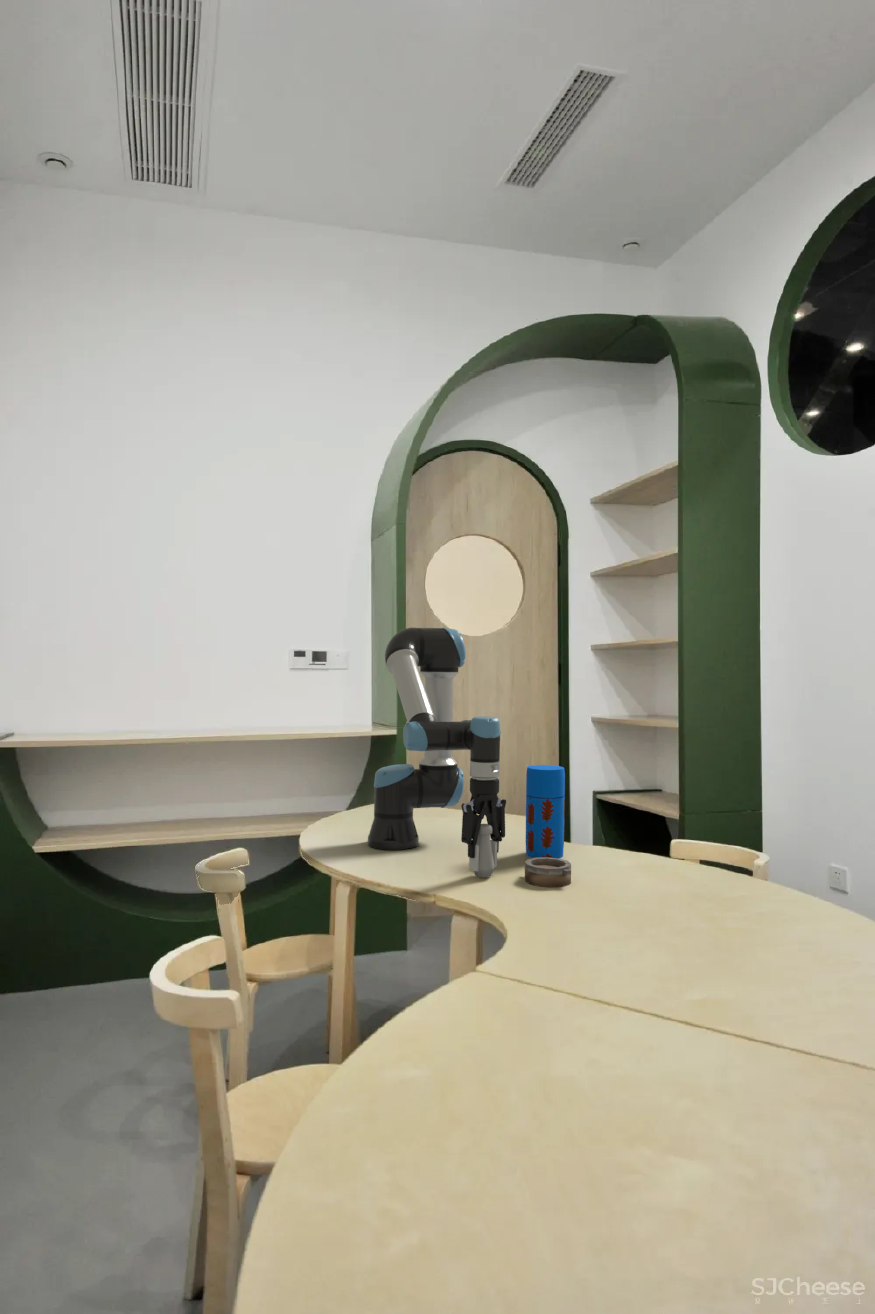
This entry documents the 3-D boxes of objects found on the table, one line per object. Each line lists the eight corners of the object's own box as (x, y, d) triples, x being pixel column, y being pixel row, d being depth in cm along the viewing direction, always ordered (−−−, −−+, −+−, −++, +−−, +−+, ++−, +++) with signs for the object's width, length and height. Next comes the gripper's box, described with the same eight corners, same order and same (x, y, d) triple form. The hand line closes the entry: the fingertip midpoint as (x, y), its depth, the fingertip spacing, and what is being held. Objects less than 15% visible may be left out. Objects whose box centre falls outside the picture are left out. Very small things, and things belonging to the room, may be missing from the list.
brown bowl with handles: (511, 878, 209) (511, 860, 209) (543, 871, 217) (543, 854, 217) (552, 891, 198) (553, 872, 198) (584, 883, 206) (584, 865, 206)
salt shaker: (492, 879, 207) (493, 827, 207) (470, 877, 208) (471, 826, 208) (495, 872, 212) (496, 822, 212) (473, 871, 214) (474, 821, 213)
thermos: (565, 860, 229) (567, 770, 229) (527, 859, 229) (528, 769, 229) (560, 850, 240) (561, 765, 240) (524, 850, 240) (525, 764, 240)
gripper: (466, 783, 201) (465, 877, 201) (521, 776, 213) (519, 865, 213) (447, 778, 207) (445, 870, 207) (501, 772, 219) (499, 859, 219)
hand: (483, 867), depth 210 cm, fingers closed on salt shaker, 6 cm apart
